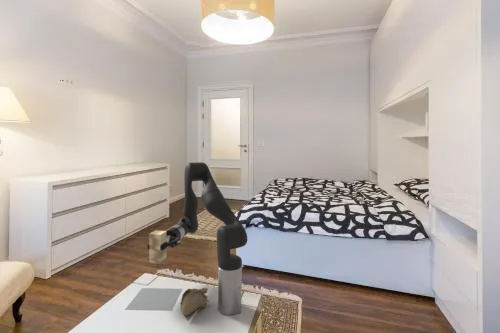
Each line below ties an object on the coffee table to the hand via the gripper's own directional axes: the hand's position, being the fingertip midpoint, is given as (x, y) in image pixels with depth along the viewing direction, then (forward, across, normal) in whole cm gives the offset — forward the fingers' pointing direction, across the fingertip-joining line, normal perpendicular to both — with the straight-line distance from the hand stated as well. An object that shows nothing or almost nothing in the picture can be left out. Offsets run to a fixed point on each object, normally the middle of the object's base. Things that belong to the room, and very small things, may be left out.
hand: (154, 247), depth 108 cm
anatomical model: (+3, +18, +22) cm, 29 cm away
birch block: (-3, 0, +6) cm, 7 cm away
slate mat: (0, 0, +22) cm, 22 cm away
